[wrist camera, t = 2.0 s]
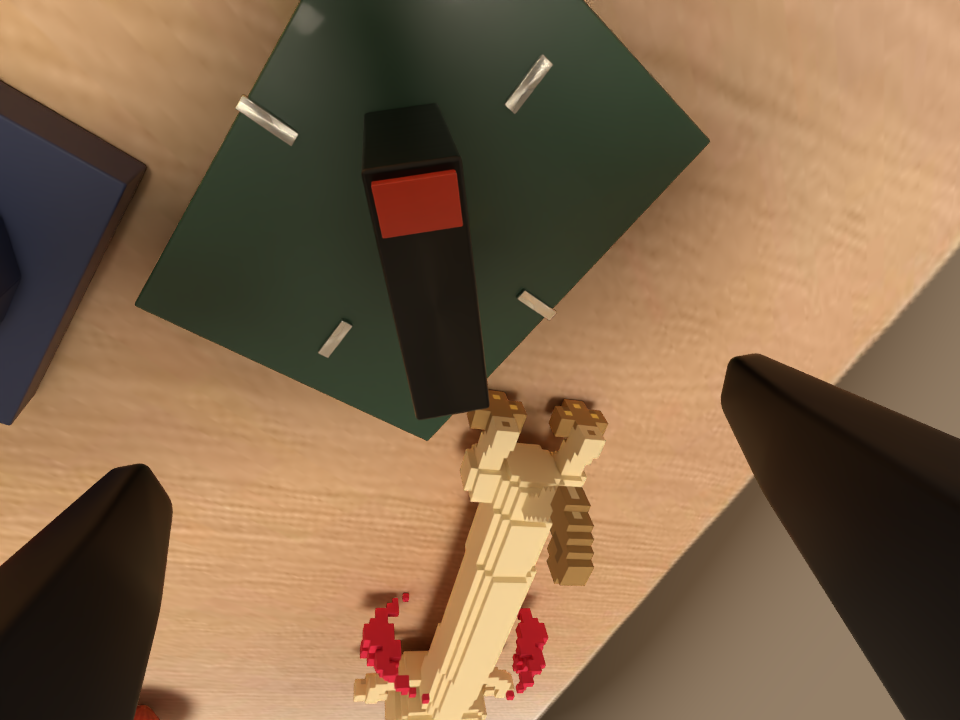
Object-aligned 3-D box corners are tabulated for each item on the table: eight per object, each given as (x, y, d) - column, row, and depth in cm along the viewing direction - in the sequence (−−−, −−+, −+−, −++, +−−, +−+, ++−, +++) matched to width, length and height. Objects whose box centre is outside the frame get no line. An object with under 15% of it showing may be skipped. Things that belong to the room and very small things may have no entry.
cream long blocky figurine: (416, 366, 23) (339, 702, 35) (441, 527, 16) (332, 885, 27) (627, 392, 26) (489, 696, 37) (731, 540, 18) (519, 860, 30)
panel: (423, 390, 22) (430, 446, 20) (162, 256, 18) (127, 307, 15) (667, 117, 17) (716, 145, 15) (396, -172, 13) (403, -204, 10)
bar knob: (465, 313, 17) (492, 416, 13) (407, 322, 17) (417, 429, 13) (437, 102, 13) (464, 159, 10) (363, 112, 13) (359, 175, 9)
